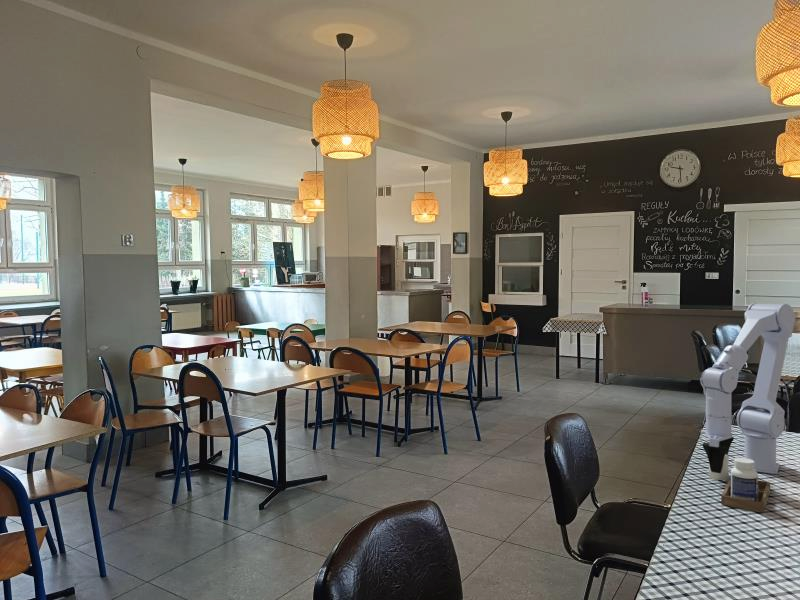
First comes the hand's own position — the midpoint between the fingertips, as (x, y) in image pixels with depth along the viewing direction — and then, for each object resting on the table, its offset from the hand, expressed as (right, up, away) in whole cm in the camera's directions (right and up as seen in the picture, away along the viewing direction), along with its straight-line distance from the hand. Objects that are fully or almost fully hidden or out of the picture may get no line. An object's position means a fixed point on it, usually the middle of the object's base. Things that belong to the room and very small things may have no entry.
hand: (718, 468), depth 149 cm
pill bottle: (-3, -3, -16) cm, 17 cm away
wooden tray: (-1, -3, -13) cm, 13 cm away
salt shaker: (0, -3, 0) cm, 3 cm away
